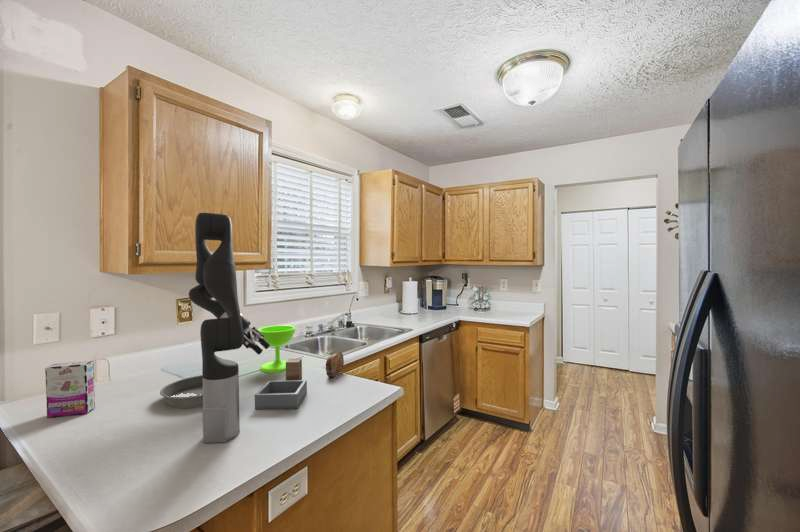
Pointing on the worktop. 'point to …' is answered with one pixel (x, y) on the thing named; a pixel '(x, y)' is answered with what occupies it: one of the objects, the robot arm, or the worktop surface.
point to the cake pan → (184, 392)
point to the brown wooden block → (294, 369)
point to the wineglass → (276, 346)
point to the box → (281, 395)
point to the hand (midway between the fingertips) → (264, 350)
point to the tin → (334, 364)
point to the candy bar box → (70, 389)
